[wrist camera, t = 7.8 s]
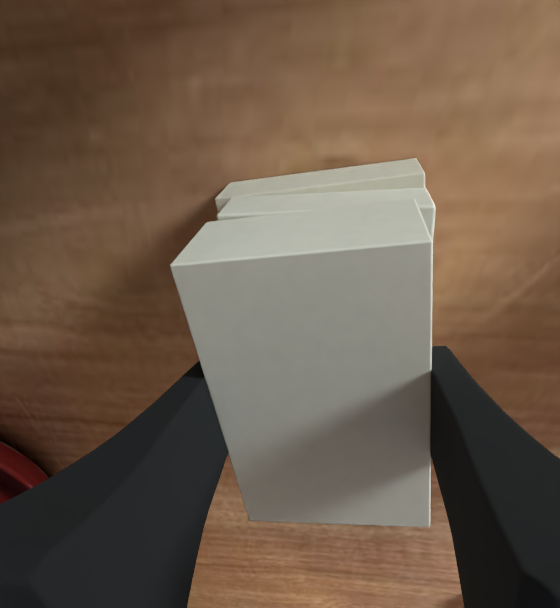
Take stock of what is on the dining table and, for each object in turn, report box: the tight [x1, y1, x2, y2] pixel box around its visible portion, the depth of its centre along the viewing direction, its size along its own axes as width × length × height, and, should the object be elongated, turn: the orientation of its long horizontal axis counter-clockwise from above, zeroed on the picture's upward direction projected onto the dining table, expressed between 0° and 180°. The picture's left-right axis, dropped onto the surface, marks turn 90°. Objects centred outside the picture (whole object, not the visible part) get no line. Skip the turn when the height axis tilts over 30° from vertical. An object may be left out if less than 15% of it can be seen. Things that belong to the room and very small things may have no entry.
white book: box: [170, 199, 433, 527], centre depth 12 cm, size 9×6×3 cm, turn 9°
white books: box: [215, 158, 436, 241], centre depth 15 cm, size 9×7×4 cm
